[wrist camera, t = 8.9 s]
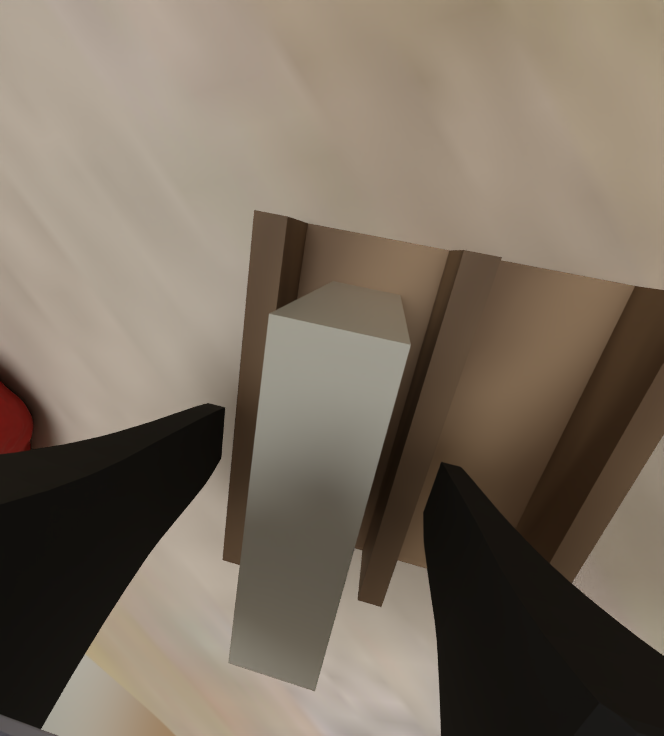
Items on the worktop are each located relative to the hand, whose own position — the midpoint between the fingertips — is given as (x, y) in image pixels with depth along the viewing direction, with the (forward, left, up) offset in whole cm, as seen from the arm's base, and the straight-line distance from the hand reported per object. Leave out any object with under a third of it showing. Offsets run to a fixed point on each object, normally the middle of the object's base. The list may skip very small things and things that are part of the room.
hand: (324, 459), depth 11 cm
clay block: (0, 0, -3) cm, 3 cm away
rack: (-3, 0, -4) cm, 5 cm away
